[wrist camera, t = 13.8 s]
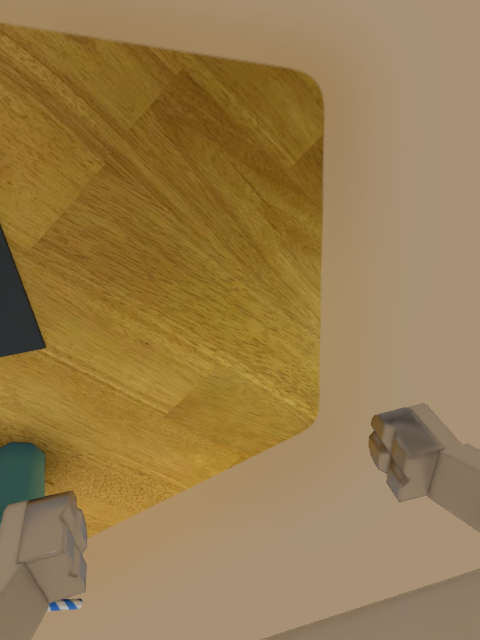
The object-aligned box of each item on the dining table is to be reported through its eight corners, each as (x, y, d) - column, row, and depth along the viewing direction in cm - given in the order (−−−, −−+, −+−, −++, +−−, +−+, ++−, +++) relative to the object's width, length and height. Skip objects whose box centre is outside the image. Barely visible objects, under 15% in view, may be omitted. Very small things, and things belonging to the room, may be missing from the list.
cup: (103, 458, 52) (105, 590, 39) (66, 501, 53) (56, 639, 41) (-21, 415, 44) (-67, 558, 32) (-59, 465, 46) (-116, 620, 34)
